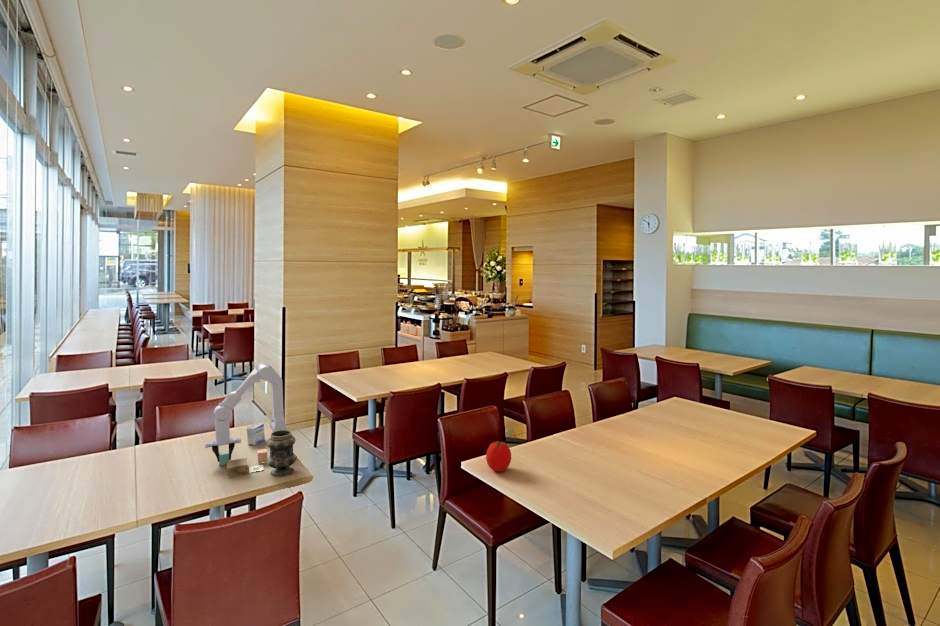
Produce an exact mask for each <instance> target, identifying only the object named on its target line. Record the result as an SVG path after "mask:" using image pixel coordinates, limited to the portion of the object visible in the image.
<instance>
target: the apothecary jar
mask: <svg viewBox="0 0 940 626" xmlns="http://www.w3.org/2000/svg"><path fill="white" fill-rule="evenodd" d="M295 443H296V437H295V436H294V435H293V434H292V431H291V430H289V429H287V430H277V431H274V432H272V431H271V433H270V436H269V438H268V439H267V441H266V446H267V447H268V448H269V456H268V457H267V462H266V463H267V466H268V467H270V468H272V470H271V471H270V474H269V475H270V476H272V477H275V478H281V477H287V476H290V475H291V474H293V473H294V472H295V468H294V467H293V465H294V464H295V463H296V461H297V456H296V454H295V453H294V444H295Z"/></svg>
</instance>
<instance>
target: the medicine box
mask: <svg viewBox="0 0 940 626" xmlns="http://www.w3.org/2000/svg"><path fill="white" fill-rule="evenodd" d="M246 434H247V437H246V438H247V445H248V444H253V445H252V446H257V445H258V444H260V443H262V442H263V441H265V440H264V439H265V438H266V436H265V425H264V423H261V422H260V423H255V424H253V425H251V426H250V427H248V428H246ZM261 441H262V442H261ZM259 442H260V443H259ZM257 443H258V444H257ZM256 444H257V445H256Z"/></svg>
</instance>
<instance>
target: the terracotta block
mask: <svg viewBox="0 0 940 626" xmlns="http://www.w3.org/2000/svg"><path fill="white" fill-rule="evenodd" d="M267 459H268V449H267V448H263V449H257V464H258V463H260V464H263V463H262V462H266V463H267Z"/></svg>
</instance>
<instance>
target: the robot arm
mask: <svg viewBox="0 0 940 626" xmlns="http://www.w3.org/2000/svg"><path fill="white" fill-rule="evenodd" d="M262 381H267V382H268V383H270V384H271V405H272V407H271V408H272V415H271V421H270V423H269V427H270V429H271V430H272V431H271V433H272V432H274V431H277V430H288V426H287V424H286V419H285V416H284V395H283V394H284V390H283V389H284V387H283V379H282V377H281V376H280V374H278V372H277V371H276V370H275V369H274V368H273V367H272V366H271V365H269V364H267V363H265V362H264V363H263V362H262V363H259V364H258V365H257V366H256V368H254V369H253V370H252V371H251V372H250V373H249V375H248V376H247V377H246V378H245V379H244V381H243V382H241V384H240V385H239V386H238V388H237V389H236V390H235V391H230V392H229V393H227V394H225V395H226V397H225V398H224V399H223V401H221V402H219V403H218V405H217V406H216V407H215V408H214V409H213V413H212V414H213V415H214V417H215V418H214V427H215V428H214V431H215V440H213V441H212V440H211V441H209V442H205V445H204V448H205V449H209V448H211V450H212V452H213V454H214V455H215V456H216V460H217V462H218V463H219V452H220V451H219V450H220V449H219V447H221V446H226V445H228V450H229V460H230V461H231V460H232V454H233V452H234V449H235V445H236V444H242V438H241V437H231V431H230V420H229V416H230V414H231V413H230V412H232V411H233V410H234V409H235V408H236V407H237V405H238V404H239V403H240V402H241V401H242V396H243V395H244V394H245V393H246V392H247V391H248V390H249V389H250V387H252V386H253V385H254V384H256V383H260V382H262Z"/></svg>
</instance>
